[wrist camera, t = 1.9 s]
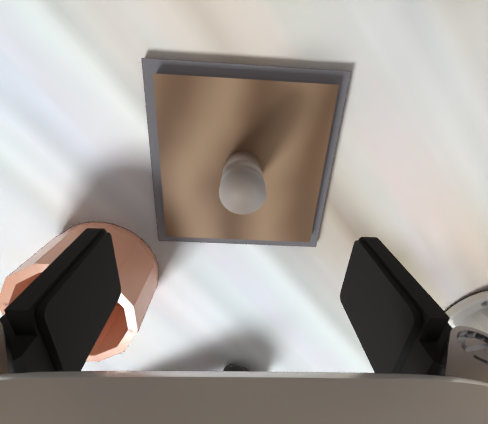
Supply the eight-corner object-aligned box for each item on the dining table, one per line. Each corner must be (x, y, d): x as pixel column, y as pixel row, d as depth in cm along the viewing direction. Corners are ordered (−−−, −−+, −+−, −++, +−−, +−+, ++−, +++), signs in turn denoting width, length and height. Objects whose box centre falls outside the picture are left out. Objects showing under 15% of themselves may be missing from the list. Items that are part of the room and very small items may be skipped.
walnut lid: (335, 84, 21) (371, 84, 15) (307, 238, 27) (326, 279, 21) (155, 73, 21) (123, 69, 15) (167, 232, 27) (147, 273, 21)
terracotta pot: (154, 224, 27) (127, 267, 21) (162, 307, 32) (142, 362, 25) (41, 219, 27) (-22, 261, 20) (66, 304, 31) (22, 359, 25)
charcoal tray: (348, 71, 21) (351, 71, 21) (314, 243, 28) (315, 246, 28) (144, 58, 21) (141, 58, 20) (160, 237, 28) (158, 240, 27)
